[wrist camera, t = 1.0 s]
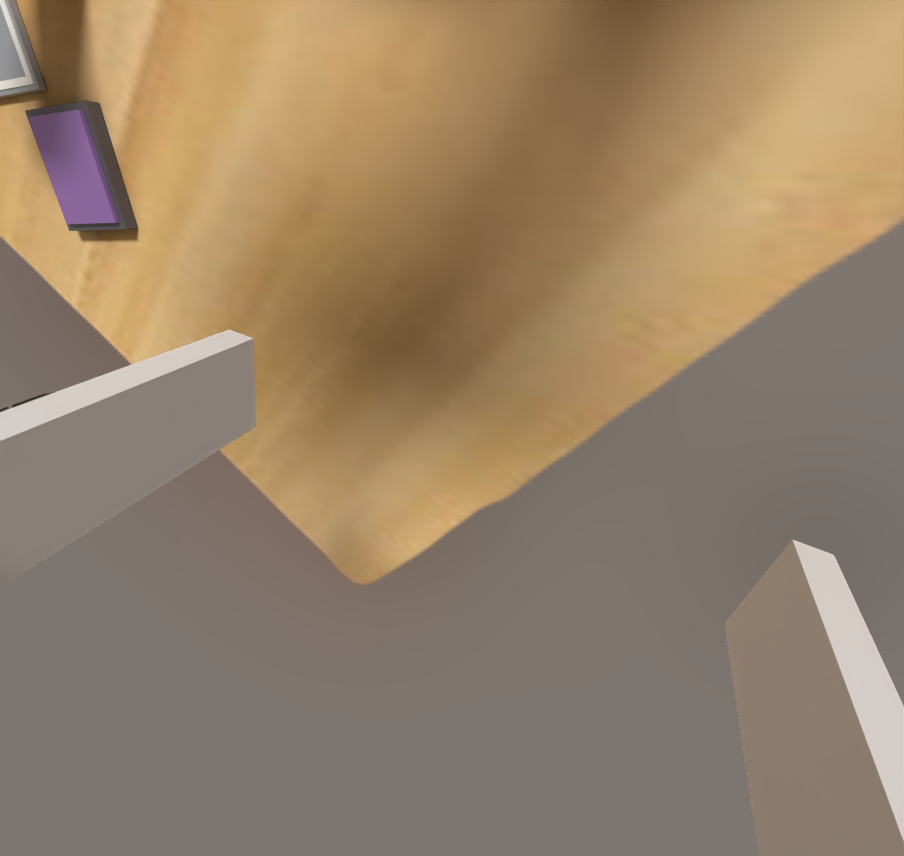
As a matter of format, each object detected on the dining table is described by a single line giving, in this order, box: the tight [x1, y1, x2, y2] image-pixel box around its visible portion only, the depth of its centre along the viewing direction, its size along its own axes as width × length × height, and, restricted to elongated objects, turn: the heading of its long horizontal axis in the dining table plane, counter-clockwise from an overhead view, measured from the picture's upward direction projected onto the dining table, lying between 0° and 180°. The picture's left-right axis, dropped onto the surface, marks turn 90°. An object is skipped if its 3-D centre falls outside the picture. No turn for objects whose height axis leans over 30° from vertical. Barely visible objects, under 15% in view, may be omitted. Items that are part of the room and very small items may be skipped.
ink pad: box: [25, 101, 138, 231], centre depth 44 cm, size 10×8×2 cm
